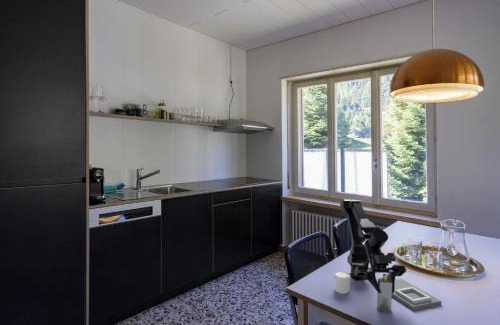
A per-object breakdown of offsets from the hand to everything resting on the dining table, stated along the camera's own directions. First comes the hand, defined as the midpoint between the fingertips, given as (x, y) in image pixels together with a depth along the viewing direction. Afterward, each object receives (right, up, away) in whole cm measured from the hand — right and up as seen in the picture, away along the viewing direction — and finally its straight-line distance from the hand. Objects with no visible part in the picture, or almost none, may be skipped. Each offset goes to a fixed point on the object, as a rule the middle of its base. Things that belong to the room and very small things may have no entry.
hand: (386, 292), depth 107 cm
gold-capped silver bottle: (0, -7, +2) cm, 7 cm away
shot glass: (-12, -6, +16) cm, 21 cm away
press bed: (+15, -7, +13) cm, 20 cm away
